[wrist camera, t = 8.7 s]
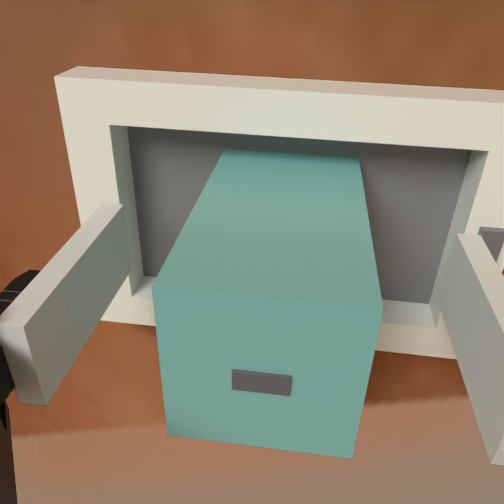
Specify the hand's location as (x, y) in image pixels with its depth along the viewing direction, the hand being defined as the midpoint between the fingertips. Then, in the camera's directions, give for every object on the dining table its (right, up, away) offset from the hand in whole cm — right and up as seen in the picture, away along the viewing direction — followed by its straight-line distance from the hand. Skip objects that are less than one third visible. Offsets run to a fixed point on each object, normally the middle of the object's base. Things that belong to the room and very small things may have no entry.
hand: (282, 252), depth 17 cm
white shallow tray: (0, +2, +3) cm, 3 cm away
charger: (0, +2, +2) cm, 3 cm away
